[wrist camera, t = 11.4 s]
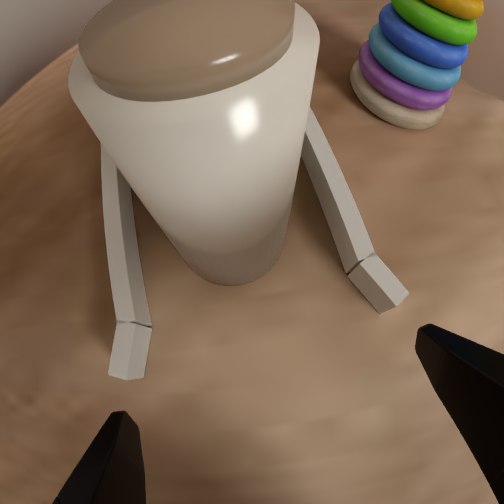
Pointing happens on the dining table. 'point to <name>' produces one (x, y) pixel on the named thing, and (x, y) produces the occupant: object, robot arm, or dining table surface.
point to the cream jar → (204, 119)
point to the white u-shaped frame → (129, 267)
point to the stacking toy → (414, 59)
